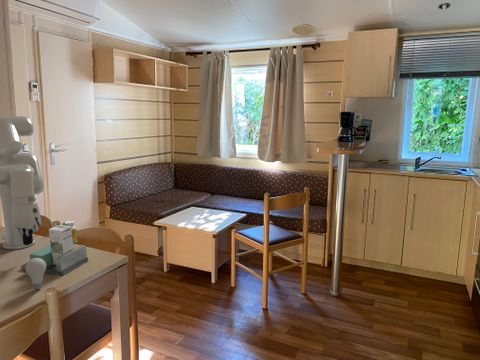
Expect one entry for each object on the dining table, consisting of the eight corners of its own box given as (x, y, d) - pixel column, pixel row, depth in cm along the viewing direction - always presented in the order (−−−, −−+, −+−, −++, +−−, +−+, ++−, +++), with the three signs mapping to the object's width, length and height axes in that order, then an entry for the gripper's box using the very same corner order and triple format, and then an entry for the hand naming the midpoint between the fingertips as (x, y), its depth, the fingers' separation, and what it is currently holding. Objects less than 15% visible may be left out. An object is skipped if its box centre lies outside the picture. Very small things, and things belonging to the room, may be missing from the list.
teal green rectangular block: (30, 266, 138) (29, 254, 137) (58, 253, 151) (57, 241, 150) (44, 268, 136) (42, 255, 135) (70, 254, 149) (69, 243, 148)
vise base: (21, 269, 139) (19, 253, 138) (49, 255, 152) (47, 241, 151) (63, 275, 134) (61, 258, 133) (88, 260, 147) (86, 245, 146)
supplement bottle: (78, 242, 168) (77, 222, 166) (66, 245, 164) (64, 224, 163) (75, 239, 172) (74, 219, 170) (63, 241, 169) (61, 221, 167)
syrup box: (75, 260, 144) (71, 225, 141) (64, 266, 138) (61, 230, 135) (62, 259, 145) (59, 224, 142) (51, 265, 139) (48, 228, 137)
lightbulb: (52, 286, 126) (49, 256, 124) (37, 294, 120) (34, 263, 118) (39, 283, 128) (35, 254, 126) (23, 291, 122) (20, 260, 120)
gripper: (47, 199, 144) (51, 242, 147) (16, 195, 147) (20, 238, 151) (31, 204, 136) (36, 250, 140) (-1, 200, 140) (5, 245, 144)
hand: (28, 243), depth 146 cm, fingers closed
